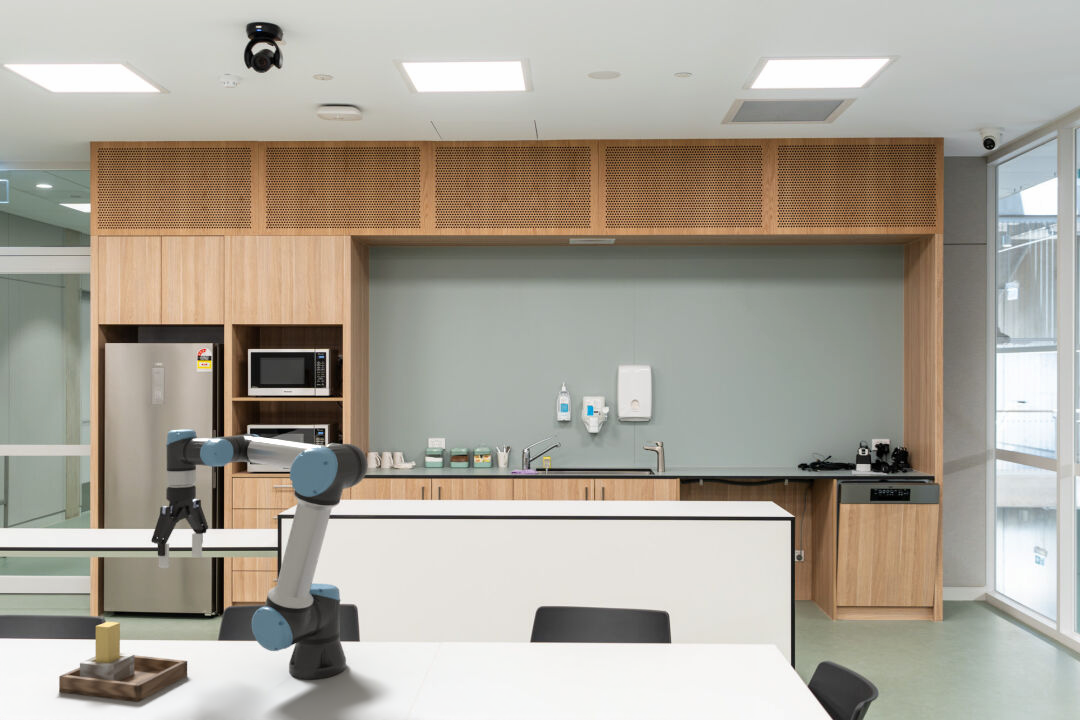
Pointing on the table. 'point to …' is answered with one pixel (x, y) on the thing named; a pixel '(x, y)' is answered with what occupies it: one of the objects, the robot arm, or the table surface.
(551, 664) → the table surface
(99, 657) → the connector
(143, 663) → the brown wooden tray
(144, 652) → the table surface
